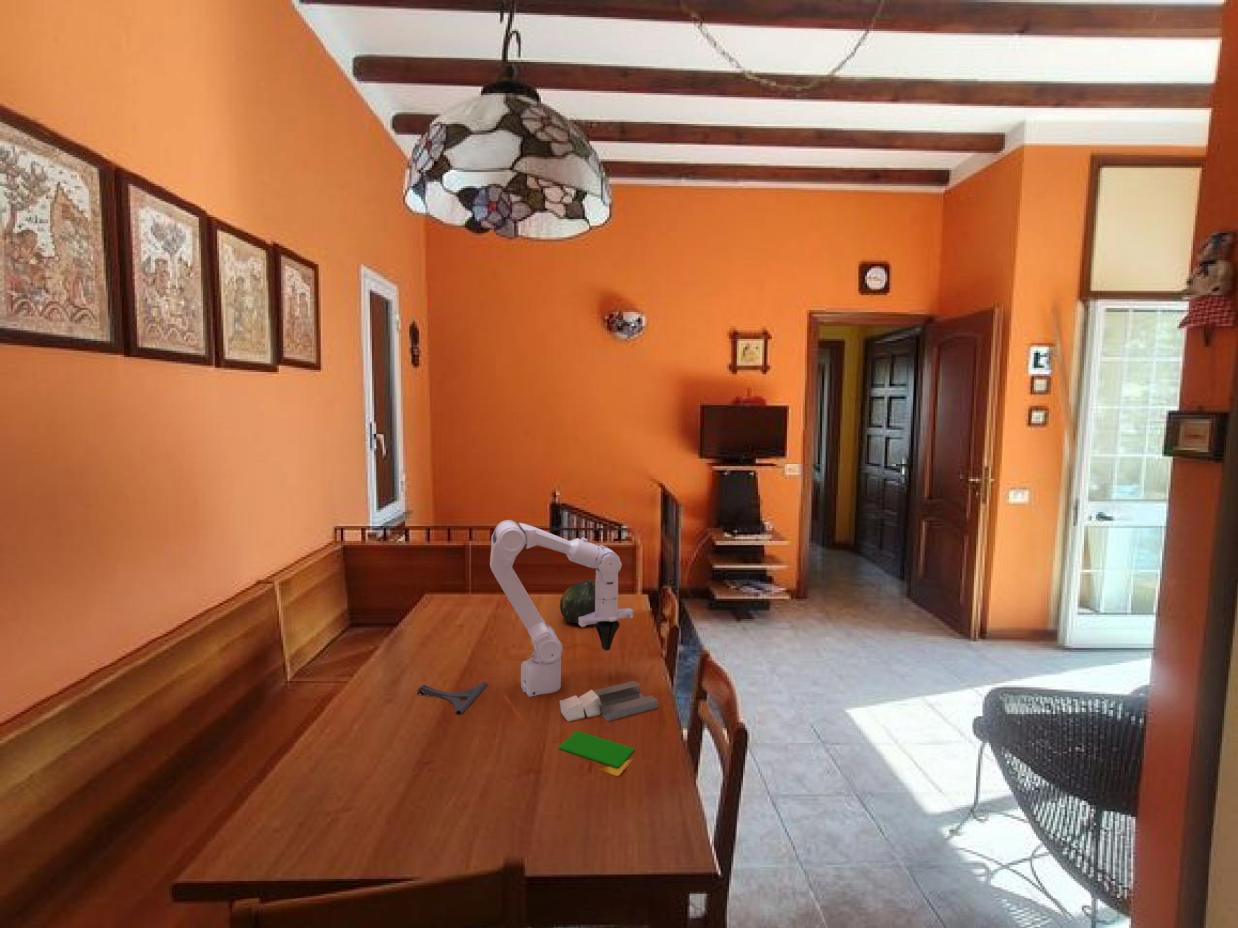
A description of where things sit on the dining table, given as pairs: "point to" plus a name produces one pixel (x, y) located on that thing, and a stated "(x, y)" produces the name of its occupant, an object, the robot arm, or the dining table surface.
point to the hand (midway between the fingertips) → (606, 648)
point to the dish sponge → (599, 751)
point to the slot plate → (624, 701)
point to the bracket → (455, 696)
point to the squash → (578, 601)
